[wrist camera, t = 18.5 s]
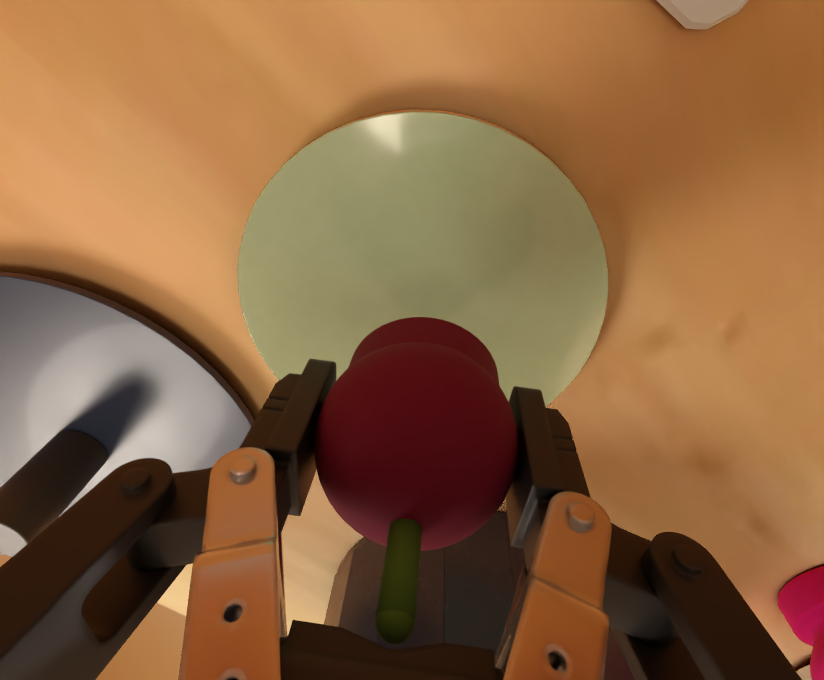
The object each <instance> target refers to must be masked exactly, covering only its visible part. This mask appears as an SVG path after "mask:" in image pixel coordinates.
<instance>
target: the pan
mask: <svg viewBox="0 0 824 680" xmlns="http://www.w3.org/2000/svg"><path fill="white" fill-rule="evenodd" d="M385 552H386V546H384V545H381V544H378V543H376V542H374V541H371V540H369V539H368V538H366V537H365V538H364V539H362V540H361V541H360V542H358V543H357V544H356V545H355V546H354V547H353V548H352V549H351V550H350V551H349V552H348V553H347V555H346V556H345V558H344V559H343V561H342V562H341V565H340V567H339V570H338V572H337V574H336V575H335V578H334V582H333V587H332V591H331V595H330V600H329V604H328V609H327V613H326V618H325V622H324V625H330V626H336V627H342V628H344V629H347V630H349V631H351V632H353V633H355V634H357V635H359V636H361V637H364V638H366V639H368V640H370V641H372V642H374V643H376V644H379V645H381V646H383V647H385V648H387V649H391V650H398V649H404V648H411V647H418V646H424V645H431V644H438V643H451V644H458V645H464V646H471V647H478V648H485V649H491V650H494V655H496V652H497V649H498V647H499V644H500V641H501V637H502V634H503V631H504V627H505V624H506V621H507V617H508V614H509V611H510V607H511V604H512V601H513V597H514V594H515V590H516V587H517V584H518V580H519V577H520V574H521V570H522V568H523V565H524V563H525V555H524V549H522V548H515V547H511V544H510V535H509V525H508V515H507V513H504V512H495V514H494V515H493V516H492V517H491V518H490V519H489V520H488V522H487V523H486V524H484V525H483V526H482V527H481V528H479V529H478V530H477V531H476V532H474V533H473V534H472V535H470V536H468V537H467V538H465V539H463V540H461V541H459V542H457V543H454V544H452V545H450V546H447V547H444V548H439V549H434V550H427V551H420V563H419V575H418V587H417V600H416V612H415V624H414V629H413V631H412V633H411V635H410V637H409V638H408V639H407V640H406V641H404V642H402V643H400V644H395V645H393V644H389V643H387V642H385V641H384V640H383V639H382V638H381V637H380V636H379V634H378V632H377V630H376V624H375V618H376V611H377V605H378V598H379V592H380V585H381V578H382V572H383V565H384V559H385ZM603 680H634V678H633V676H632V673H631V671H630V669H629V667H628V665H627V662H626V660H625V658H624V656H623V654H622V651H621V649H620V647H619V645H618V643H617V641H616V638H615V636H614V634H613V632H612V630H611V627H610V626H609V632H608V641H607V651H606V660H605V670H604V679H603Z"/></svg>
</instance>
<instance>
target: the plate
mask: <svg viewBox="0 0 824 680" xmlns="http://www.w3.org/2000/svg"><path fill="white" fill-rule="evenodd" d="M238 291H239V297H240V302H241V308H242V313H243V316H244V319H245V322H246V325H247V328H248V331H249V333H250V335H251V337H252V340H253V342H254V344H255V346H256V348H257V350H258V352H259V353H260V355H261V356H262V358H263V359H264V361H265V363H266V364H267V366H268V367H269V369H270V370H271V371H272V372H273V373H274V375H275V376H276V377H277V378H278V379H279V381H280V380H281V379H282V378H284V377H285V376H286V375H288V374H289V373H292V374H300V375H301V374H302V372H303V370H304V368H305V366H306V364H307V362H308V360H309V359H318V360H326V361H333V362H336V381H337V380H338V378H339V377H340V376H341V375H342V374H343V373H344V372H345V371H346V370H347V369H348V367H349V364H350V362H351V359H352V356H353V354H354V352H355V350H356V348H357V347H358V345H359V344H360V343H361V342H362V340H363V339H364V338H365V337H366V336H367V335H369V334H370V333H371V332H372V331H374V330H375V329H377V328H379V327H380V326H382V325H385V324H387V323H389V322H392V321H395V320H399V319H403V318H410V317H430V318H436V319H442V320H445V321H448V322H452V323H454V324H456V325H458V326H461V327H463V328H464V329H466V330H468V331H469V332H471V333H472V334H473V335H474V336H476V337H477V338H478V339H479V340H480V341H481V342H482V343H483V344H484V345H485V346H486V347H487V349H488V350H489V352H490V353H491V355H492V357H493V359H494V361H495V364H496V367H497V371H498V378H499V386H500V388H501V389H502V391H503V392H504V394H505V396H506V398H507V400H508V402H509V399H510V395H511V392H512V389H513V387H514V386H518V387H525V388H532V389H540V390H541V392H542V395H543V399H544V403H545V407H546V406H547V405H549V404H550V403H551V402H552V401H553V400H554V399H556V398H557V397H558V396H559V395H560V394H561V393H562V392H563V391H564V390H565V389H566V388H567V387H568V386H569V384H570V383H571V382H572V381H573V380H574V379H575V377H576V376H577V375H578V374H579V372H580V371H581V369H582V367H583V366H584V364H585V363H586V361H587V360H588V358H589V357H590V354H591V352H592V350H593V348H594V346H595V344H596V342H597V340H598V337H599V334H600V331H601V328H602V324H603V321H604V318H605V313H606V306H607V300H608V266H607V260H606V253H605V247H604V244H603V241H602V238H601V235H600V232H599V228H598V225H597V223H596V221H595V219H594V217H593V215H592V213H591V211H590V209H589V207H588V205H587V203H586V201H585V200H584V198H583V197H582V196H581V194H580V193H579V191H578V190H577V189H576V187H575V186H574V184H573V183H572V182H571V180H570V179H569V178H568V177H567V176H566V175H565V174H564V173H563V172H562V171H561V170H560V169H559V168H558V167H557V166H556V165H555V164H554V163H553V162H552V161H551V160H550V159H549V158H548V157H547V156H546V155H545V154H544V153H542V152H541V151H539V150H538V149H537V148H535V147H534V146H533V145H531V144H530V143H529V142H527V141H526V140H525V139H523V138H521V137H519V136H518V135H516V134H514V133H512V132H510V131H508V130H506V129H504V128H503V127H501V126H499V125H496V124H493V123H490V122H487V121H485V120H482V119H479V118H476V117H474V116H470V115H465V114H460V113H455V112H449V111H444V110H427V109H409V110H399V111H388V112H383V113H379V114H375V115H371V116H367V117H363V118H359V119H357V120H354V121H352V122H349V123H347V124H345V125H342V126H340V127H337V128H335V129H333V130H331V131H329V132H328V133H326V134H324V135H323V136H321V137H319V138H318V139H316V140H314V141H313V142H311V143H310V144H308V145H306V146H305V147H303V148H302V149H301V150H300V151H299V152H298V153H296V154H295V155H294V156H293V157H292V158H290V159H289V160H288V161H287V162H286V163H285V164H284V165H283V166H282V167H281V168H280V169H279V170H278V172H277V173H276V174H275V175H274V176H273V177H272V178H271V180H270V181H269V182H268V183H267V185H266V186H265V188H264V190H263V191H262V193H261V194H260V196H259V198H258V199H257V201H256V202H255V204H254V206H253V209H252V211H251V213H250V216H249V218H248V220H247V223H246V225H245V229H244V233H243V237H242V241H241V245H240V249H239V260H238Z"/></svg>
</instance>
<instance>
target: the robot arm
mask: <svg viewBox="0 0 824 680" xmlns="http://www.w3.org/2000/svg"><path fill="white" fill-rule="evenodd" d="M335 382H336V362H333V361H326V360H318V359H309V360H308V362H307V364H306V366H305V368H304V370H303V372H302V374H301V375H300V374H292V373H289V374H288V375H286V376H285V377H284V378H282V379H281V380H280V381H278V382H277V383H276V384H275V386H274V388H273V389H272V391H271V393H270V395H269V398H267V400H266V402H265V404H264V405H263V409H261V411H260V412H259V414H258V416H257V418H256V419H255V421H254V423H253V425H252V426H251V428H250V430H249V432H248V434H247V435H246V437H245V439H244V441H243V442H242V444H241V446H240V447H239V449H236V450H233V451H230V452H228V453H226V454H225V455H223V456H222V457H221V458H219V459H218V460H217V462H216V463H215V464H214V466H213V467H210V468H207V469H201V470H194V471H186V472H178V473H172V470H171V467H170V466H169V464H167V463H166V462H165V461H163V460H160V459H157V458H142V459H137V460H133V461H130V462H128V463H125V464H123V465H121V466H120V467H118V468H116V469H115V470H114V471H112V472H111V473H110V474H109V475H107V476H106V477H105V478H104V479H103V480H102V481H100V482H99V483H98V484H97V485H96V486H95V487H93V488H92V489H91V490H90V491H89V492H88V493H86V494H85V495H84V496H83V497H82V498H81V499H79V500H78V501H77V502H76V503H75V504H74V505H72V506H71V507H70V508H69V509H68V510H67V511H65V512H64V513H63V514H62V515H61V516H60V517H58V518H57V519H56V520H55V521H54V522H53V523H51V524H50V525H49V526H48V527H47V528H46V529H44V530H43V531H42V532H41V533H40V534H39V535H37V536H36V537H35V538H34V539H33V540H32V541H30V542H29V543H28V544H27V545H26V546H25V547H23V548H22V549H21V550H20V551H19V552H18V553H16V554H15V555H14V556H13V557H12V558H11V559H10V560H8V561H7V562H6V563H5V564H4V565H2V566H1V567H0V680H95V679H96V678H97V677H98V676H99V674H100V673H101V672H102V671H103V669H104V668H105V667H106V666H107V664H108V663H109V662H110V661H111V659H112V658H113V657H114V655H115V654H116V653H117V652H118V650H119V649H120V648H121V647H122V645H123V644H124V643H125V642H126V640H127V639H128V638H129V637H130V635H131V634H132V633H133V631H134V630H135V629H136V628H137V627H138V625H139V624H140V623H141V621H142V620H143V619H144V618H145V616H146V615H147V614H148V613H149V611H150V610H151V609H152V608H153V606H154V605H155V604H156V603H157V601H158V600H159V599H160V598H161V596H162V595H163V594H164V592H165V591H166V590H167V589H168V587H169V586H170V585H171V584H172V582H173V581H174V580H175V579H176V577H177V576H178V575H179V574H180V572H181V571H182V570H183V569H184V567H185V566H186V565H187V564H191V563H193V567H192V575H191V583H190V591H189V599H188V607H187V615H186V623H185V631H184V640H183V648H182V655H181V663H180V671H179V679H178V680H603V679H604V670H605V660H606V651H607V641H608V632H609V626H610V627H611V630H612V632H613V634H614V636H615V638H616V641H617V643H618V645H619V647H620V649H621V651H622V654H623V656H624V658H625V660H626V662H627V665H628V667H629V669H630V671H631V673H632V676H633V678H634V680H802V679H801V678H800V676H799V675H798V674H797V672H796V671H795V669H794V668H793V667H792V665H791V664H790V663H789V661H788V660H787V658H786V657H785V656H784V654H783V653H782V651H781V650H780V649H779V647H778V646H777V645H776V643H775V642H774V640H773V639H772V638H771V636H770V635H769V633H768V632H767V631H766V629H765V628H764V627H763V625H762V624H761V622H760V621H759V620H758V618H757V617H756V615H755V614H754V613H753V611H752V610H751V609H750V607H749V606H748V604H747V603H746V602H745V600H744V599H743V597H742V596H741V595H740V593H739V592H738V590H737V589H736V588H735V586H734V585H733V584H732V582H731V581H730V579H729V578H728V577H727V575H726V574H725V572H724V571H723V570H722V568H721V567H720V566H719V564H718V563H717V561H716V560H715V559H714V558H713V556H712V555H711V554H710V553H709V552H708V551H707V550H706V549H705V548H704V547H703V546H701V545H700V544H699V543H697V542H696V541H694V540H693V539H691V538H689V537H687V536H684V535H682V534H679V533H674V532H663V533H660V534H658V535H656V536H655V537H654V538H653V540H652V541H650V540H647V539H645V538H642V537H640V536H638V535H635V534H633V533H630V532H628V531H626V530H623V529H621V528H619V527H617V526H616V525H614V524H612V523H611V522H610V519H609V517H608V515H607V513H606V512H605V511H604V509H603V508H602V507H601V506H600V505H599V504H598V503H597V502H595V501H594V500H593V499H591V497H590V494H589V491H588V488H587V484H586V481H585V478H584V474H583V471H582V468H581V464H580V461H579V457H578V454H577V453H576V447H575V444H574V441H573V440H572V438H573V437H572V434H571V431H570V427H569V424H568V422H567V421H566V420H565V419H564V417H563V416H562V415H561V414H560V412H559V411H558V410H557V409H549V408H546V407H545V403H544V399H543V395H542V392H541V390H540V389H532V388H525V387H518V386H514V387H513V389H512V392H511V395H510V399H509V404H510V406H511V409H512V412H513V415H514V419H515V423H516V428H517V434H518V458H517V466H516V470H515V475H514V478H513V481H512V484H511V487H510V489H509V491H508V493H507V495H506V506H507V515H508V525H509V535H510V544H511V547H515V548H522V549H524V555H525V563H524V565H523V568H522V570H521V574H520V577H519V580H518V584H517V587H516V590H515V594H514V597H513V601H512V604H511V607H510V611H509V614H508V617H507V621H506V624H505V627H504V631H503V634H502V637H501V641H500V644H499V647H498V649H497V652H496V655H494V650H491V649H485V648H478V647H471V646H464V645H458V644H451V643H438V644H431V645H424V646H418V647H411V648H404V649H398V650H391V649H387V648H385V647H383V646H381V645H379V644H376V643H374V642H372V641H370V640H368V639H366V638H364V637H361V636H359V635H357V634H355V633H353V632H351V631H349V630H347V629H344V628H342V627H336V626H330V625H323V624H316V623H309V622H303V621H296V620H293V621H292V625H291V628H290V632H289V635H288V636H287V625H286V612H285V593H284V571H283V550H282V533H281V532H282V529H283V526H284V524H285V521H286V518H287V516H288V514H289V515H296V516H300V515H301V512H302V509H303V506H304V503H305V500H306V498H307V495H308V492H309V489H310V486H311V483H312V480H313V478H314V475H315V472H316V469H317V468H316V463H315V453H314V439H315V429H316V424H317V420H318V416H319V413H320V410H321V407H322V405H323V403H324V400H325V398H326V396H327V394H328V393H329V391H330V389H331V388H332V386H333V385H334V383H335Z"/></svg>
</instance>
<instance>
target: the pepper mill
mask: <svg viewBox="0 0 824 680" xmlns="http://www.w3.org/2000/svg"><path fill="white" fill-rule="evenodd" d="M778 606H779V608H780V610H781V612H782V613H783V615H784V617H785V618H786V620H787V622H788V623H789V625H790V627H791V628H792V630H793V632H794V633H795V635H796V636H797V637H798V638H799V639H800V640H801V641H803V642H804V643H806V644H809V645H811V646H813V650H812V655H811V660H810V673H811V678H812V680H824V566H822V567H818V568H815V569H812V570H810V571H807V572H805V573H803V574H801V575H799V576H797V577H795V578H793V579H792V580H791V581H789V582H788V583H787V584H786V585H785V586H784V587H783V588H782V590H781V591H780V593H779V594H778Z"/></svg>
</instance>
